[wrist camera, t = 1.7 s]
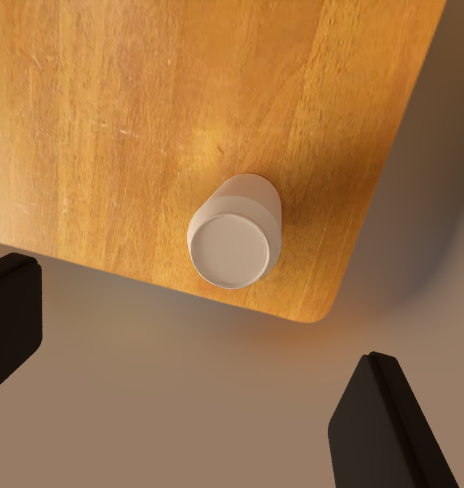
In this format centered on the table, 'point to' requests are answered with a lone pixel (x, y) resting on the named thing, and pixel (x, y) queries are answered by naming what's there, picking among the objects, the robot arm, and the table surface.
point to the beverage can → (237, 232)
